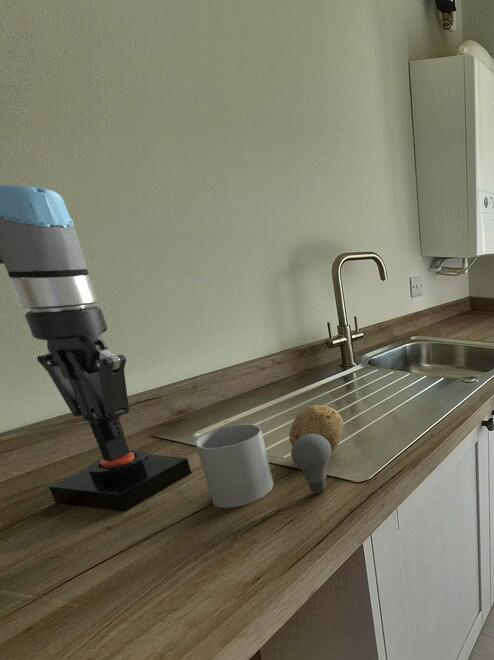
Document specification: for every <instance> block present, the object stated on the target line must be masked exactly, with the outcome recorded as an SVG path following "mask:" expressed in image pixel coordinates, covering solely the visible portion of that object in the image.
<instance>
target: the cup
mask: <svg viewBox="0 0 494 660" xmlns="http://www.w3.org/2000/svg"><path fill="white" fill-rule="evenodd" d="M265 445H266V443H265V440H264V435H263V431H262V428H261V427H260V426H259V425H256V424H251V423H248V424H247V423H244V424H234V425H229V426H224V427H220V428H217V429H214V430H211V431H208V432H207V433H205V434H203V435H200V437H199V438H197V439H196V440H195V446H196V450H197V453H198V457H199V461H200V464H201V466H202V470H203V475H204V477H205V482H206V484H207V487H208V491H209V494H210V498H211V501H212V504H213V506H216V507H218V508H221V509H227V508H229V509H230V508H238V507H242V506H246V505H249V504H252V503H254V502H256V501H258V500H260V499H263V498H264V497H265V496H267V495H268V494H269V493H270V492H272V489H273V488H274V485H275V484H274V480H273V475H272V471H271V467H270V462H269V458H268V452H267V449H266V446H265Z"/></svg>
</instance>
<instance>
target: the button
mask: <svg viewBox="0 0 494 660" xmlns="http://www.w3.org/2000/svg"><path fill="white" fill-rule="evenodd" d="M134 459H135V456H134V453H132V452H130V453H129V454H126V455H124V456H122V457H120V458H118V459H115V460H113V461H106V460H104V459H102V460H101V461H100V464H101V467H102V468H109V467H116V466H119V465H123V464H126V463H128V462H130V461H132V460H134Z"/></svg>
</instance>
